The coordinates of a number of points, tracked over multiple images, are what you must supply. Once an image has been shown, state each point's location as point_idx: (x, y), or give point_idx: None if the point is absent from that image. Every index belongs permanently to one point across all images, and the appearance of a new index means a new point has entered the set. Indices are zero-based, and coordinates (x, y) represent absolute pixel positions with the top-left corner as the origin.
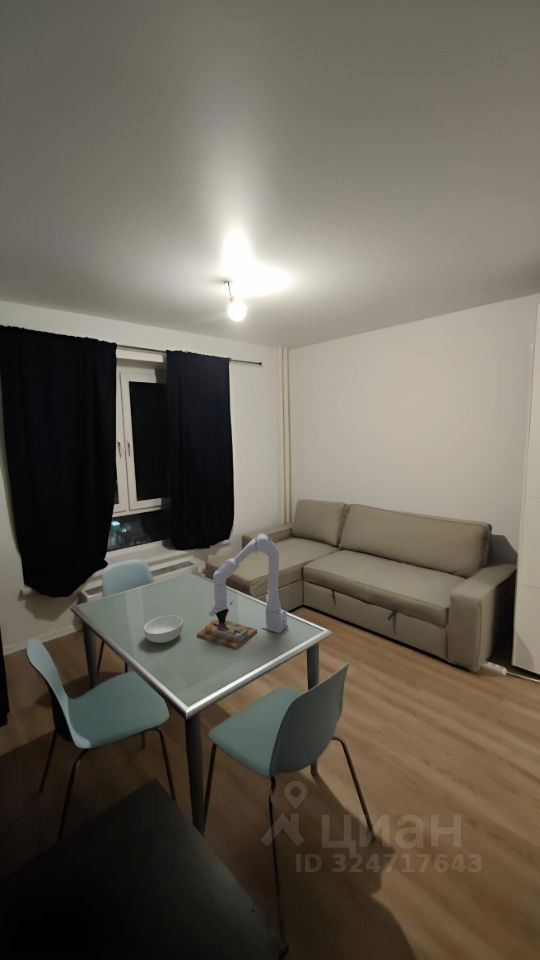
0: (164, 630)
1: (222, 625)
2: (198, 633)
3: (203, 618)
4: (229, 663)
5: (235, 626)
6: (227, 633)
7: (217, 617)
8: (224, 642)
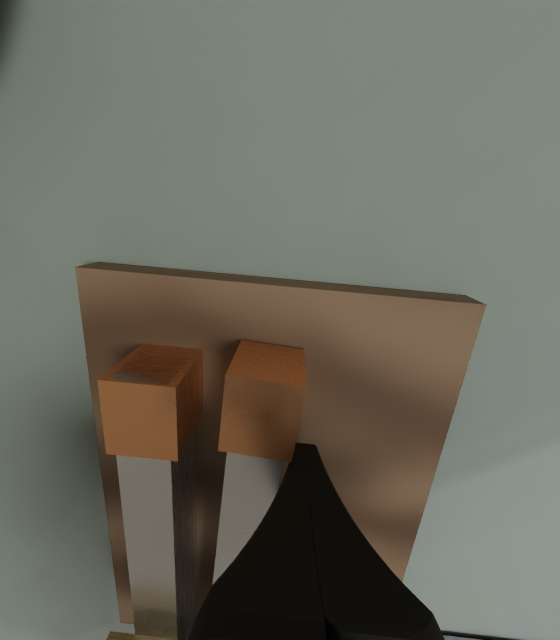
0: None
1: (225, 535)
2: (89, 285)
3: (499, 30)
4: (12, 612)
5: (367, 524)
6: (136, 614)
7: (267, 512)
8: (113, 553)
